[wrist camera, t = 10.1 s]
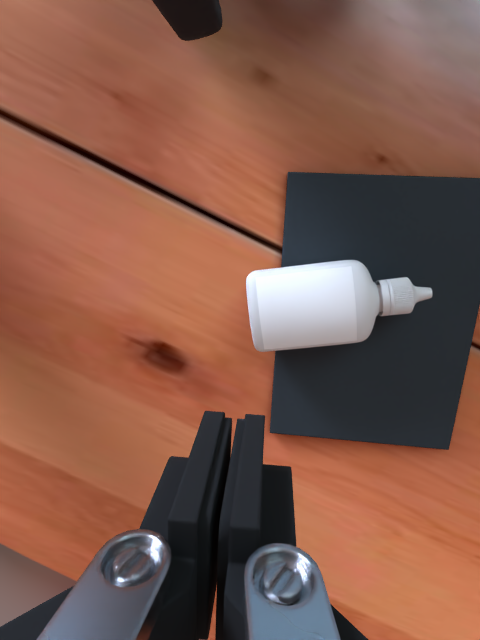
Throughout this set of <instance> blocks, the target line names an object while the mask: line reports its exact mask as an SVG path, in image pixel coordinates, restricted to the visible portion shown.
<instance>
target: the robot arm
mask: <svg viewBox="0 0 480 640" xmlns="http://www.w3.org/2000/svg"><path fill="white" fill-rule="evenodd" d="M264 424H265V416H264V415H251V414H246V415H245V419H237V425H236V430H235V436H234V442H233V447H232V453H231V431H232V418H225V412H213V411H205V412H204V415H203V418H202V421H201V424H200V427H199V430H198V432H197V435H196V438H195V441H194V444H193V447H192V450H191V453H190V456H189V458H185V457H174V456H171V457H170V458H169V460H168V462H167V464H166V467H165V469H164V471H163V474H162V476H161V479H160V481H159V483H158V486H157V488H156V490H155V493H154V495H153V498H152V500H151V502H150V505H149V507H148V509H147V512H146V514H145V517H144V519H143V521H142V524H141V526H140V528H139V529H136V530H130V531H126V532H123V533H121V534H118V535H116V536H115V537H113V538H112V539H110V540H109V541H107V542H106V543H105V544H104V545H103V547H102V548H101V549H100V550H99V551H98V552H97V554H96V555H95V557H94V558H93V560H92V561H91V562H90V564H89V565H88V567H87V568H86V570H85V571H84V572H83V574H82V575H81V577H80V578H79V580H78V581H77V583H76V584H75V585H74V586H73V587H71V588H69V589H67V590H65V591H64V592H62V593H60V594H58V595H56V596H55V597H53V598H51V599H49V600H48V601H46V602H44V603H42V604H40V605H39V606H37V607H35V608H33V609H31V610H30V611H28V612H26V613H24V614H23V615H21V616H19V617H17V618H16V619H14V620H12V621H10V622H8V623H7V624H5V625H3V626H1V627H0V640H199V639H205V640H208V636H209V630H210V624H211V617H212V611H213V604H214V598H215V591H216V585H217V604H216V640H368V639H367V638H366V637H365V636H364V635H363V634H362V633H361V632H360V631H358V630H357V629H356V628H355V627H354V626H353V625H352V624H351V623H350V622H349V621H348V620H347V619H346V618H345V617H344V616H343V615H342V614H340V613H339V612H338V611H337V610H336V609H335V608H334V607H333V606H332V605H331V604H330V601H329V598H328V595H327V591H326V588H325V584H324V581H323V577H322V574H321V572H320V570H319V568H318V565H317V564H316V562H315V561H314V560H313V559H312V558H311V557H310V555H308V554H307V553H305V552H304V551H303V550H301V549H300V548H297V547H296V534H295V518H294V503H293V487H292V471H291V467H288V466H277V465H265V464H263V445H264ZM230 458H231V459H230Z"/></svg>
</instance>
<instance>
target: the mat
mask: <svg viewBox="0 0 480 640" xmlns="http://www.w3.org/2000/svg"><path fill="white" fill-rule="evenodd" d="M342 260H356V261H359V262H361V263H362V264H364V265H365V267H366V268H367V270H368V271H369V273H370V276H371V278H372V281H373V282H375V283H376V281H377V280H385V279H394V278H403V277H407V278H408V279H410V281H411V283H412V284H413V285H414V286H416V287H428V288H431V289H432V298H430V299H426V300H423V301H419V302H417V303H416V304H415V305H414V308H413V310H412V312H411V313H408V314H398V315H388V316H380V315H379V314H378V315H377V316H376V319H375V322H374V326H373V329H372V331H371V333H370V335H369V337H368V338H367V339H365V340H364V341H362V342H357V343H349V344H341V345H330V346H320V347H309V348H299V349H288V350H277V351H275V365H274V380H273V394H272V408H271V423H270V433H278V434H288V435H299V436H309V437H320V438H330V439H341V440H351V441H362V442H372V443H383V444H393V445H404V446H415V447H425V448H436V449H446V450H449V446H450V441H451V436H452V431H453V427H454V422H455V417H456V413H457V408H458V403H459V399H460V394H461V389H462V385H463V380H464V375H465V371H466V366H467V361H468V356H469V352H470V347H471V342H472V338H473V333H474V328H475V324H476V319H477V314H478V310H479V305H480V178H456V177H425V176H395V175H365V174H334V173H304V172H288V178H287V193H286V207H285V221H284V236H283V250H282V265H281V268H282V267H290V266H298V265H307V264H315V263H324V262H332V261H342Z"/></svg>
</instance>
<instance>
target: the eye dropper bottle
mask: <svg viewBox="0 0 480 640" xmlns="http://www.w3.org/2000/svg"><path fill="white" fill-rule="evenodd" d="M246 290H247V301H248V310H249V318H250V325H251V332H252V338H253V343H254V346H255V348H256V350H258V351H260V352H266V351H277V350H288V349H299V348H309V347H320V346H330V345H341V344H349V343H357V342H362V341H364V340H365V339H367V338H368V337H369V335H370V333H371V331H372V329H373V326H374V322H375V319H376V316H377V315H378V314H379V315H380V316H388V315H398V314H408V313H411V312H412V310H413V308H414V305H415V304H416V303H417V302H419V301H423V300H426V299H430V298H432V289H431V288H428V287H416V286H414V285H413V284H412V283H411V281H410V279H408V278H407V277H403V278H394V279H385V280H377V281H376V283H375V282H373V281H372V278H371V276H370V273H369V271H368V270H367V268H366V267H365V265H364V264H362V263H361V262H359V261H356V260H342V261H332V262H324V263H315V264H307V265H298V266H290V267H282V268H273V269H265V270H257V271H253V272H251V273H250V274H249V275H248V276H247V279H246Z"/></svg>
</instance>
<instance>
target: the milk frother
mask: <svg viewBox="0 0 480 640" xmlns="http://www.w3.org/2000/svg"><path fill="white" fill-rule="evenodd" d="M152 1H153V2H154V4H155V5H156V6H157V8H158V9H159V11H160V12H161V14H162V15H163V16H164V17H165V19H166V20H167V21H168V23H169V24H170V26H171V27H172V28H173V30H174V31H175V32H176V34H177V35H178V37H179V38H180V39H182V40H185V41H189V40H195V39H200V38H203V37H206V36H209V35H212V34H214V33H216V32H218V31H219V30H220V29H221V27H222V14H221V7H220V4H219V0H152Z"/></svg>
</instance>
